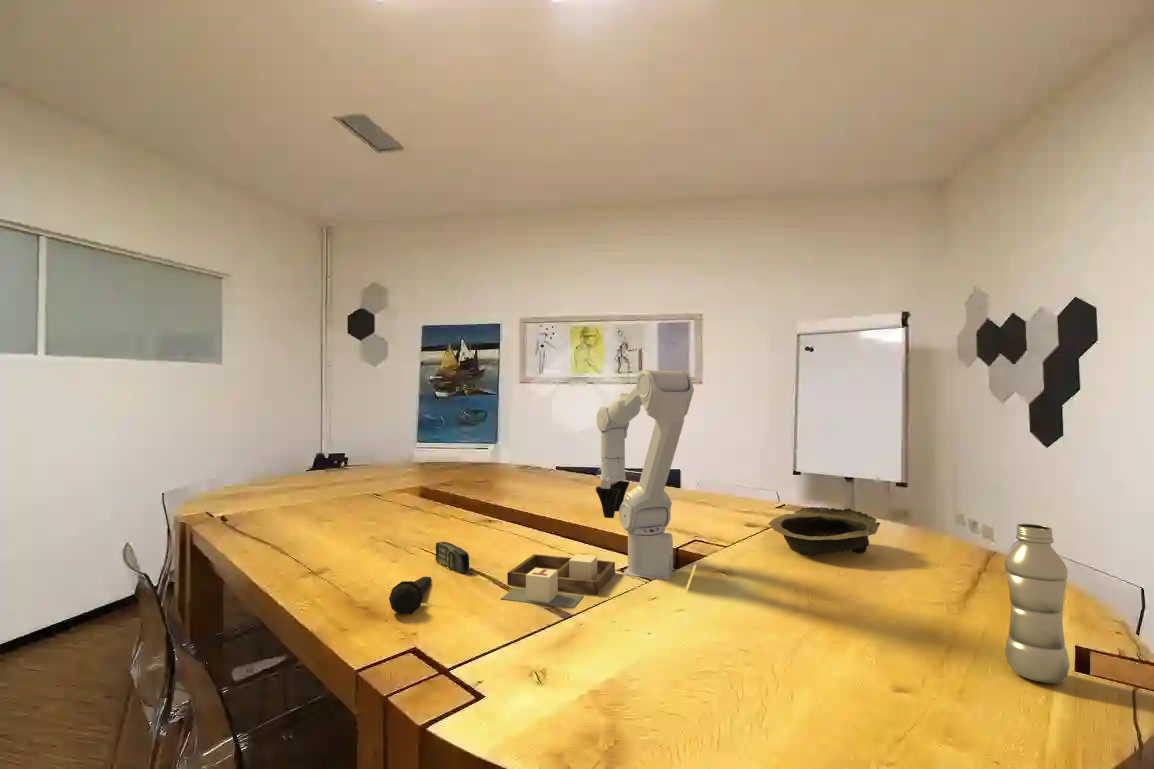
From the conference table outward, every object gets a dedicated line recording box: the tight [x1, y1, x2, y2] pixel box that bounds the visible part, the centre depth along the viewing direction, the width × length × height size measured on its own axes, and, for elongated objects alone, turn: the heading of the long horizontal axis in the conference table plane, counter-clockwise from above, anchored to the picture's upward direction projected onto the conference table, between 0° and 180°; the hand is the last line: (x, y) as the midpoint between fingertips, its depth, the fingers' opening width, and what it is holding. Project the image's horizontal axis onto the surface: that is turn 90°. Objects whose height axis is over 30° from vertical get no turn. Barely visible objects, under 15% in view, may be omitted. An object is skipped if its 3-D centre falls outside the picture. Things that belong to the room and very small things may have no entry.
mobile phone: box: [435, 541, 474, 576], centre depth 120 cm, size 5×3×15 cm
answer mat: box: [500, 587, 585, 609], centre depth 101 cm, size 14×6×1 cm, turn 72°
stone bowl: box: [767, 506, 881, 556], centre depth 134 cm, size 25×25×9 cm
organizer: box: [506, 553, 616, 596], centre depth 112 cm, size 18×14×3 cm
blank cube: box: [569, 553, 598, 581], centre depth 110 cm, size 4×4×4 cm
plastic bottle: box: [1004, 523, 1071, 684], centre depth 73 cm, size 6×7×20 cm
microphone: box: [388, 576, 432, 615], centre depth 103 cm, size 6×6×20 cm
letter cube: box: [525, 568, 559, 603], centre depth 101 cm, size 4×4×5 cm
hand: (613, 514), depth 131 cm, fingers open, 7 cm apart
